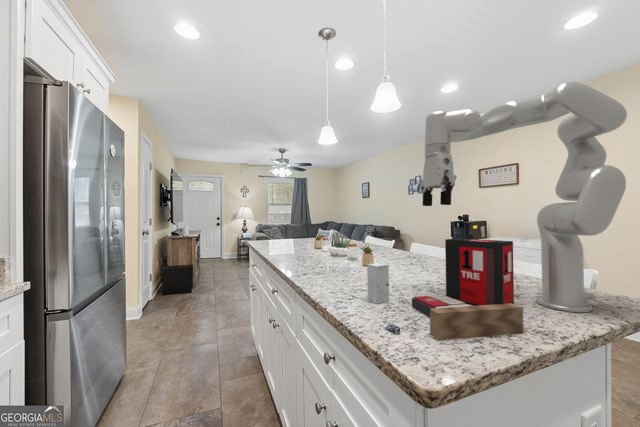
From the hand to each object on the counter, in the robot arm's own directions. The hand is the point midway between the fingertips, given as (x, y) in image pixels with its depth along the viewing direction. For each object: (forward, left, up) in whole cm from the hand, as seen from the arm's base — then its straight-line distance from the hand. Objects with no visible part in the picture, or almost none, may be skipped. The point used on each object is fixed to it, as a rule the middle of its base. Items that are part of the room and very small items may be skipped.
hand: (435, 205), depth 84 cm
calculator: (+3, +8, -32) cm, 33 cm away
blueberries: (+21, +16, -32) cm, 42 cm away
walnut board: (+3, +21, -31) cm, 38 cm away
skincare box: (+17, -6, -32) cm, 36 cm away
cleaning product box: (-14, +1, -32) cm, 34 cm away
